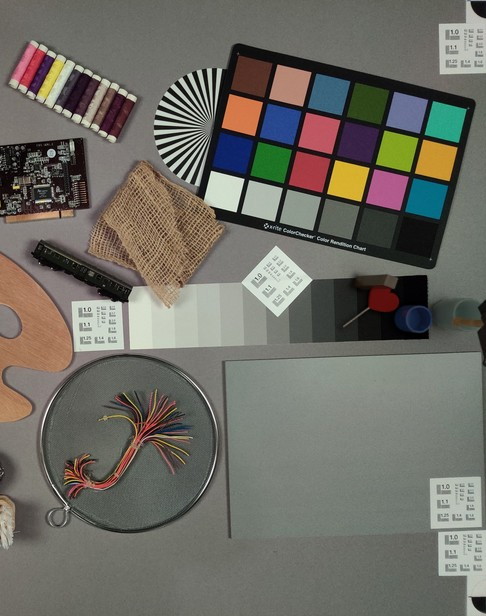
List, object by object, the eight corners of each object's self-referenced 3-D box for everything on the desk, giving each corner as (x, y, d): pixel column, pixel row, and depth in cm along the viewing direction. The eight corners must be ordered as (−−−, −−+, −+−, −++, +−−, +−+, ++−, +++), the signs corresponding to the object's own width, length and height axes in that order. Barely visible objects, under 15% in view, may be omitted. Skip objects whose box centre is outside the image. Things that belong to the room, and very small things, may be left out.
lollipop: (351, 339, 144) (401, 303, 144) (353, 340, 143) (403, 303, 143) (332, 313, 143) (382, 277, 143) (334, 313, 143) (384, 276, 143)
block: (366, 279, 144) (398, 278, 130) (362, 289, 144) (394, 289, 130) (356, 276, 144) (387, 274, 130) (352, 286, 144) (383, 285, 130)
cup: (424, 327, 144) (450, 329, 134) (428, 295, 144) (456, 295, 134) (455, 331, 144) (483, 334, 134) (459, 300, 144) (489, 300, 134)
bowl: (423, 310, 144) (436, 311, 139) (414, 335, 144) (426, 336, 139) (399, 301, 144) (411, 301, 139) (390, 326, 144) (402, 327, 139)
